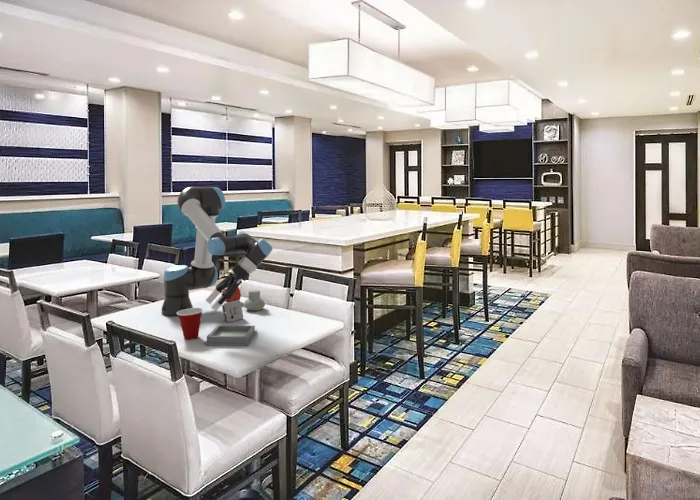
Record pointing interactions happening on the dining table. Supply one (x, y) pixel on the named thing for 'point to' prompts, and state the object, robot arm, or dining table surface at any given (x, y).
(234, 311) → the electrical switch
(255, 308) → the air freshener
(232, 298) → the vegetable
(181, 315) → the plastic cup
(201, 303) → the dining table surface
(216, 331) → the pocket tray
